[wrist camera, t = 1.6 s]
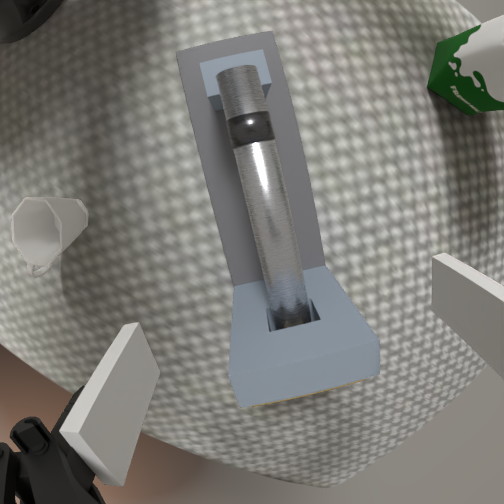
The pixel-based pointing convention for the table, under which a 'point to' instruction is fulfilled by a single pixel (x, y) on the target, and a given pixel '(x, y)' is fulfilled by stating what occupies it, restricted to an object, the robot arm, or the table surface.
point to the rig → (245, 250)
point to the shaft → (265, 193)
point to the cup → (46, 229)
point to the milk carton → (471, 68)
